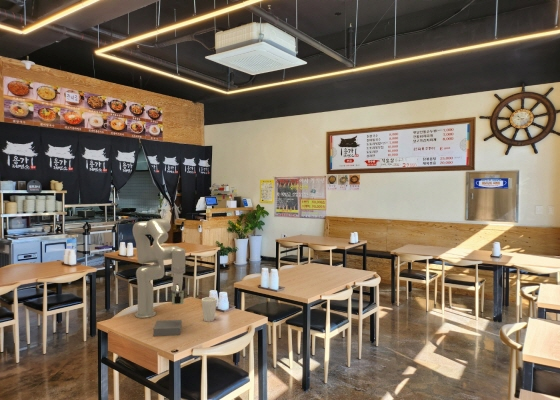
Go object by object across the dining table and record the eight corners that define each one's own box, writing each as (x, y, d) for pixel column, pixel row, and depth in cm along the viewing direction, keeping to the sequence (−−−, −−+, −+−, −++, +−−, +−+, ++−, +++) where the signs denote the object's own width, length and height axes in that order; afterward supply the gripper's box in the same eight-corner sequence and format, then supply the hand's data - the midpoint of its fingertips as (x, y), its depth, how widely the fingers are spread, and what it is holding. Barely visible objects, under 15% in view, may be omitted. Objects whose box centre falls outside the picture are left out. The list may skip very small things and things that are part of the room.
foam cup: (219, 319, 247) (220, 298, 247) (209, 323, 240) (209, 302, 239) (208, 316, 253) (209, 296, 252) (198, 320, 245) (198, 299, 245)
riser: (156, 327, 231) (156, 320, 231) (181, 326, 233) (181, 319, 233) (153, 336, 217) (153, 329, 217) (179, 334, 220) (179, 327, 220)
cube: (172, 301, 228) (172, 291, 228) (183, 301, 229) (183, 290, 229) (172, 304, 222) (172, 294, 222) (183, 304, 223) (183, 293, 223)
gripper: (172, 267, 233) (171, 297, 233) (170, 273, 216) (169, 306, 216) (185, 266, 234) (185, 297, 235) (184, 273, 217) (184, 305, 218)
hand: (177, 301), depth 225 cm, fingers closed on cube, 6 cm apart
